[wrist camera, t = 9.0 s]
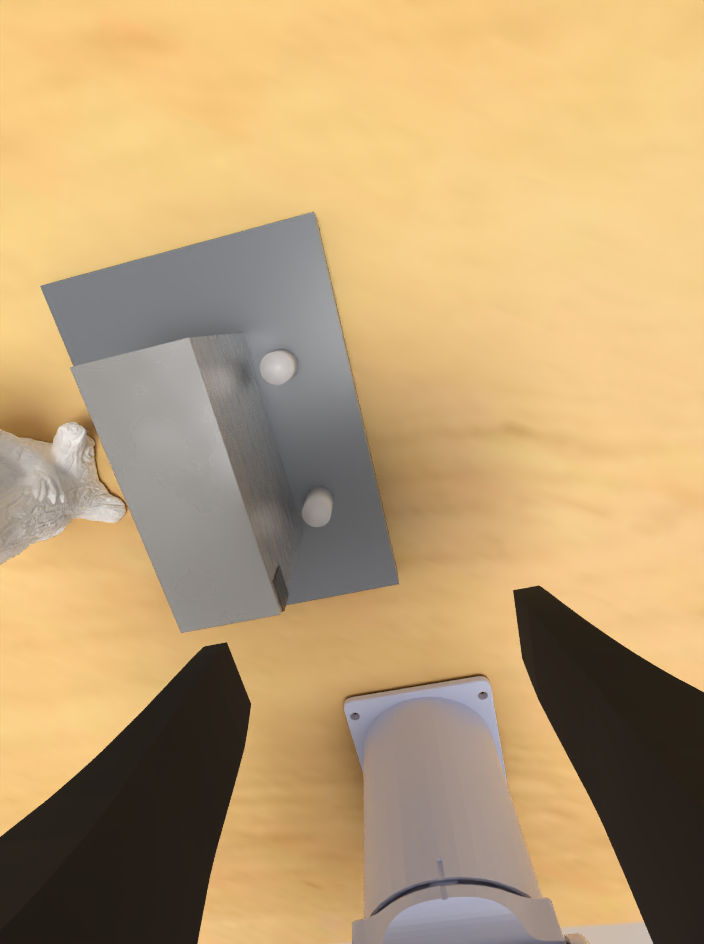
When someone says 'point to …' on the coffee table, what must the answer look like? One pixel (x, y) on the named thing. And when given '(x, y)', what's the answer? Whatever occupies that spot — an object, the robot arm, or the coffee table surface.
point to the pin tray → (259, 374)
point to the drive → (199, 474)
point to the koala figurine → (49, 488)
